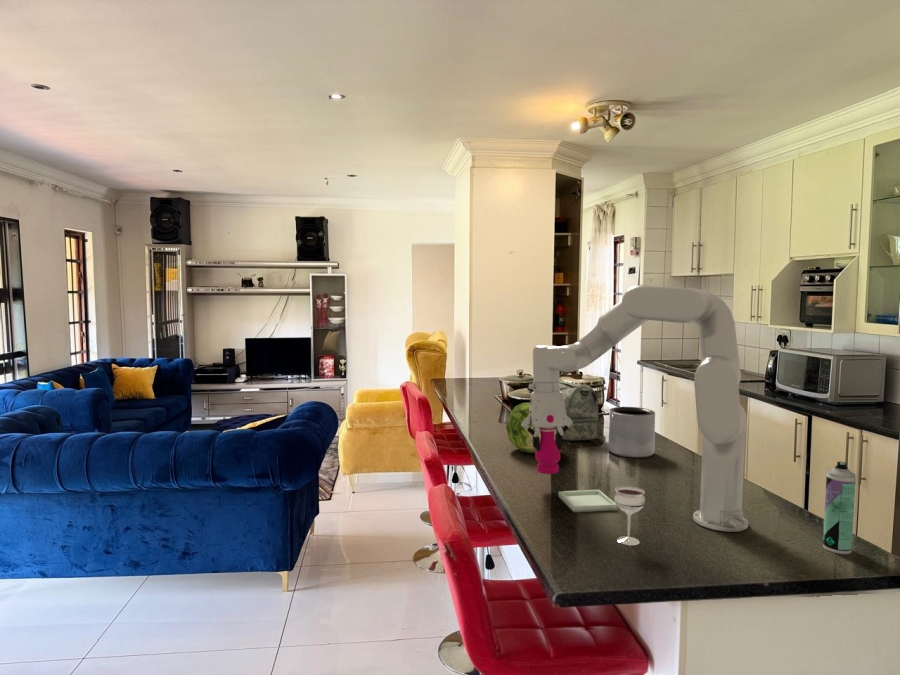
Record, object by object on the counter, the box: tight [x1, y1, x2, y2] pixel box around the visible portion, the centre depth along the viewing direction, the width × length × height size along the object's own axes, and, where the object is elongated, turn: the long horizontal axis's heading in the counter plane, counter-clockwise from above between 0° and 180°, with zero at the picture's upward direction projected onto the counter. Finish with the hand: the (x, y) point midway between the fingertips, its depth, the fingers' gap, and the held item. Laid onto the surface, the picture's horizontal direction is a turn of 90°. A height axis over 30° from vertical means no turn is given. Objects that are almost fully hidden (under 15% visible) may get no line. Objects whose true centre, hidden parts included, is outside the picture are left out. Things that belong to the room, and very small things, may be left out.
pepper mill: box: [534, 415, 561, 475], centre depth 172 cm, size 7×7×20 cm
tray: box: [558, 489, 618, 513], centre depth 162 cm, size 12×12×2 cm
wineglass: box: [614, 485, 646, 546], centre depth 137 cm, size 7×7×12 cm
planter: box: [607, 406, 656, 459], centre depth 213 cm, size 16×16×16 cm
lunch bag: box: [560, 379, 600, 441], centre depth 240 cm, size 26×18×22 cm
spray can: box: [822, 460, 857, 555], centre depth 133 cm, size 6×6×20 cm
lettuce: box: [506, 402, 557, 454], centre depth 213 cm, size 19×23×18 cm
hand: (547, 448), depth 172 cm, fingers closed on pepper mill, 5 cm apart
